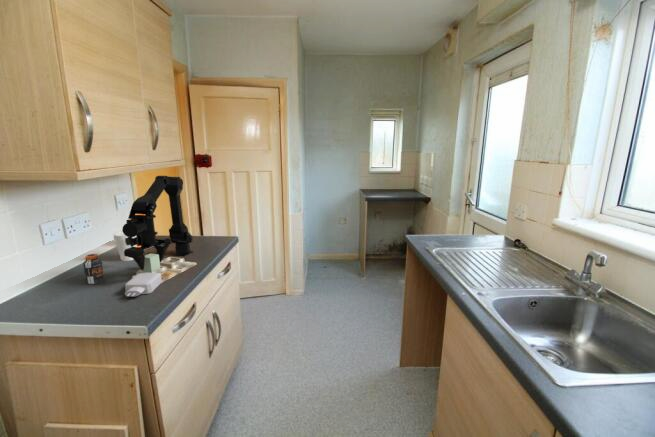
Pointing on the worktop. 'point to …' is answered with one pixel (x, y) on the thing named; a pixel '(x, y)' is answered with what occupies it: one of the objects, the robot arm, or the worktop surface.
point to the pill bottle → (93, 269)
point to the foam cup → (122, 245)
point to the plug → (151, 263)
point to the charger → (143, 284)
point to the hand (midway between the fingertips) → (151, 265)
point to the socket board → (171, 267)
